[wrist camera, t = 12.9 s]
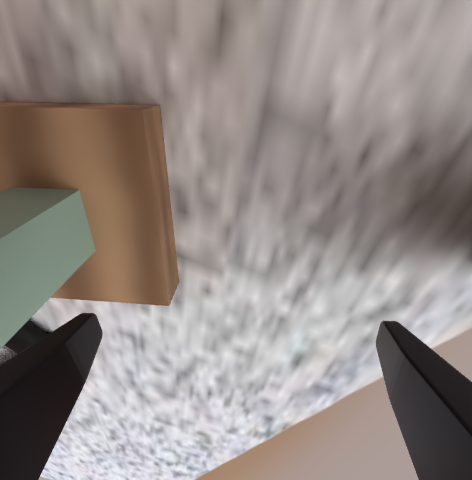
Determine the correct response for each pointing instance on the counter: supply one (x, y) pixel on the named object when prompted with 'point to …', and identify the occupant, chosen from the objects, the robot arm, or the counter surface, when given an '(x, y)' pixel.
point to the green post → (38, 250)
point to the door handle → (24, 337)
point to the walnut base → (101, 190)
